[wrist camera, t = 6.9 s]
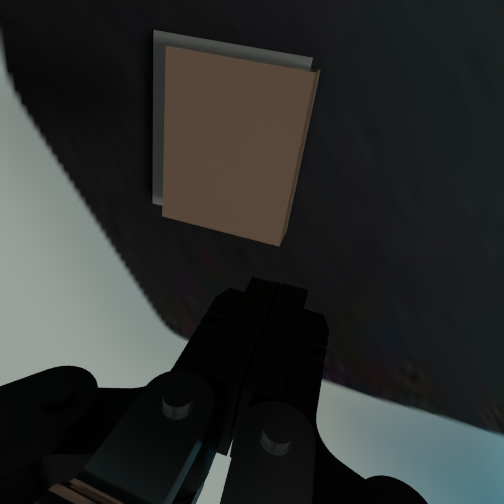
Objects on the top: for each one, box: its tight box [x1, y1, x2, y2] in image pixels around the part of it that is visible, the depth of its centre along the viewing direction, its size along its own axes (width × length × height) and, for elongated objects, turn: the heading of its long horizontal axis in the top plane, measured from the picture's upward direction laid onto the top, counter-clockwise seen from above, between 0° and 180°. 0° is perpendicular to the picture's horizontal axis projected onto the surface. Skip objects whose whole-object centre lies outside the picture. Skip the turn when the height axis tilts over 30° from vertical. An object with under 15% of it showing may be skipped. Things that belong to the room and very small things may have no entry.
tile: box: [162, 46, 320, 246], centre depth 23 cm, size 10×2×8 cm
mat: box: [153, 30, 312, 206], centre depth 24 cm, size 11×9×1 cm
